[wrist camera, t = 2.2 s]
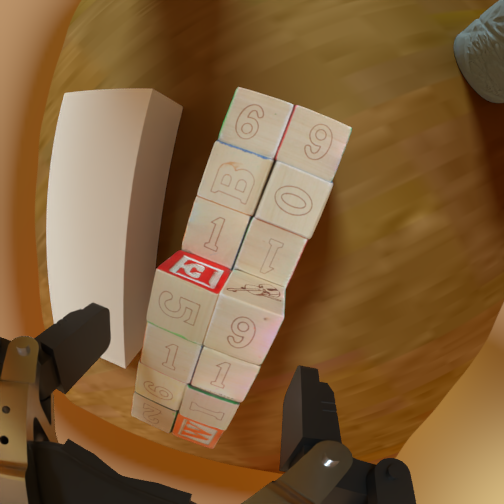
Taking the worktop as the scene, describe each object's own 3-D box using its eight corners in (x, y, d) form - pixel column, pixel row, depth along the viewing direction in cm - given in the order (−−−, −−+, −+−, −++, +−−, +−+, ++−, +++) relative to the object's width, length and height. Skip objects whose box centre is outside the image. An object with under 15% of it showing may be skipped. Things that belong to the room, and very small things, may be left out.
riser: (103, 104, 21) (64, 93, 15) (183, 106, 21) (152, 88, 15) (86, 310, 28) (56, 334, 22) (151, 336, 27) (125, 368, 22)
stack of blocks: (256, 119, 21) (225, 60, 9) (328, 146, 21) (377, 116, 9) (181, 332, 27) (128, 417, 15) (238, 355, 27) (212, 452, 15)
